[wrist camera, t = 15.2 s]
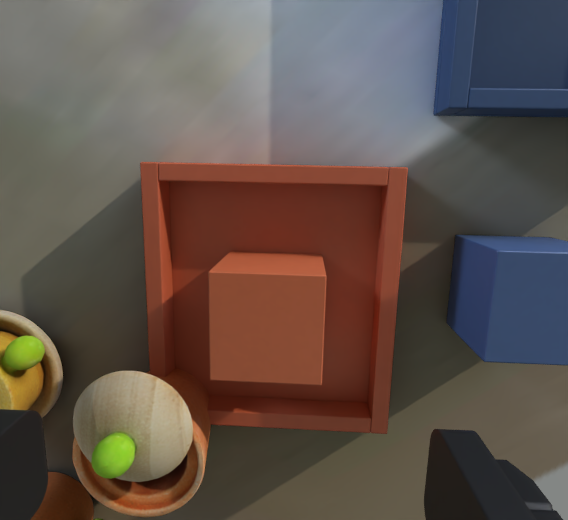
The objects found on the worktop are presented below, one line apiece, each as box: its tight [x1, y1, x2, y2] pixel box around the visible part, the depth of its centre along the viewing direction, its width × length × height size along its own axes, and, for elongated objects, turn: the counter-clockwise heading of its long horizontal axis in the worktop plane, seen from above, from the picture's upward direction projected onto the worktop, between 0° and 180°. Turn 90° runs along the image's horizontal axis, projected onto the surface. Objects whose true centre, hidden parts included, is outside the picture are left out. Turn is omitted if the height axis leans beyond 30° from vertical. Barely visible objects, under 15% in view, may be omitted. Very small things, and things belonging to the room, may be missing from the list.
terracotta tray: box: [140, 162, 408, 434], centre depth 20 cm, size 12×13×2 cm
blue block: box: [446, 235, 568, 365], centre depth 18 cm, size 4×4×4 cm
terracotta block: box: [208, 251, 327, 385], centre depth 18 cm, size 4×4×4 cm
